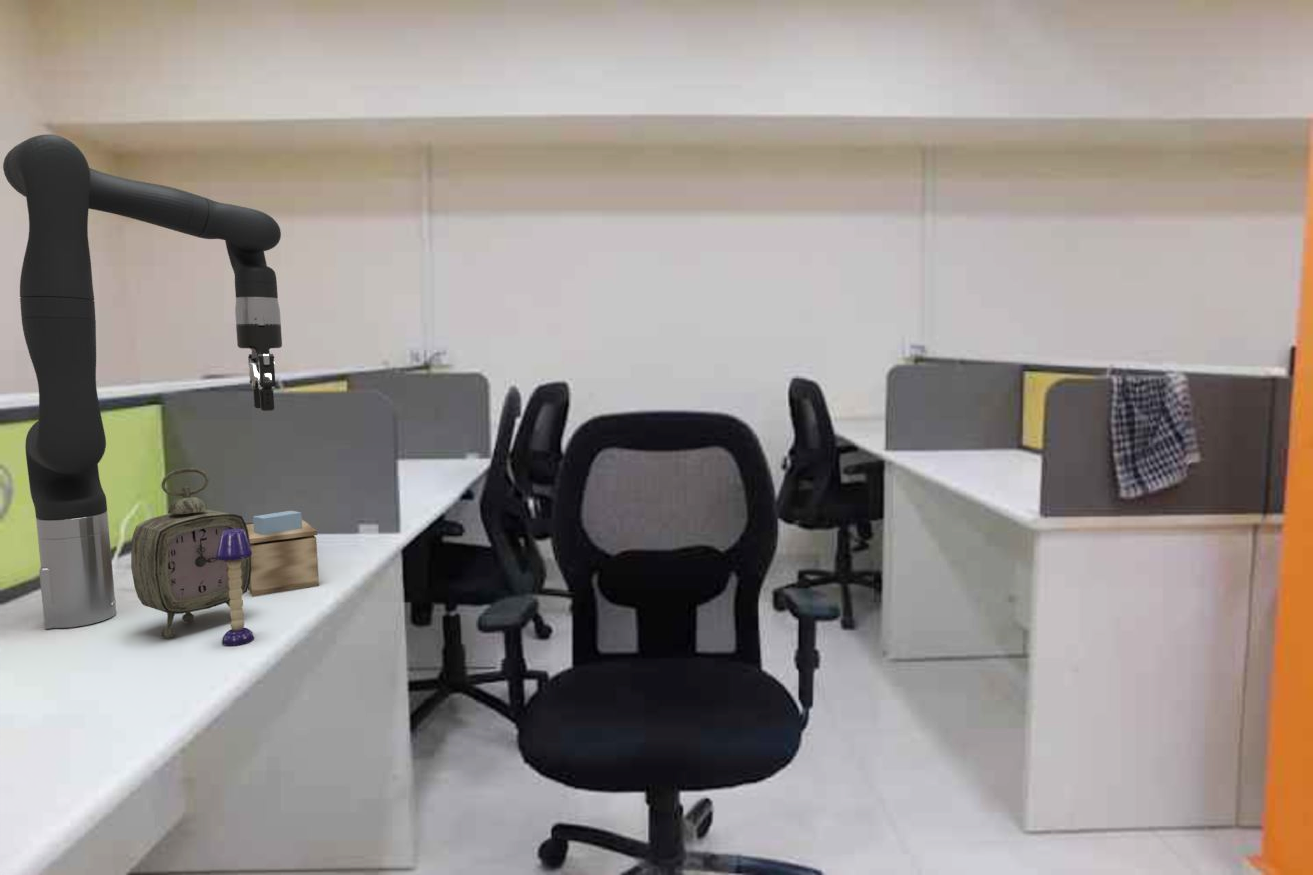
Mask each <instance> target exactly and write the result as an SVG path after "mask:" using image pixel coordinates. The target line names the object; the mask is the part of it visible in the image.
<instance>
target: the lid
mask: <svg viewBox="0 0 1313 875" xmlns="http://www.w3.org/2000/svg"><path fill="white" fill-rule="evenodd" d="M246 526H247V530H248V534H249V540H250V544H251V543H259V542H266V541H274V540H282V539H290V538H298V537H305V536H313V535H314V536H318V531H317V529H316V528H314V527H313V526H312V525H311V524H309V523H308V522H306V521H305V520H304V519H302V529H297V530H291V531H285V532H280V533H274V534H268V535H261V534H257V533H254V525H253V524H247V525H246Z"/></svg>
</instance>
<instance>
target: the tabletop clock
mask: <svg viewBox="0 0 1313 875" xmlns="http://www.w3.org/2000/svg"><path fill="white" fill-rule="evenodd" d="M184 473H197V474H200V475H201V476H203V478H204V480H205V481H204V483H203V484H202V485H201V486H199V487H196V488H194V489H191V487H190V486H189V485H184V486H182V488H181V489H182V490H181V491H172V490H169V489H167V488H166V483H167V481H168V480H169V479H171V477H173V476H175V475H179V474H184ZM209 480H210V479H209V476H208V474H207V472H205V471H204V470H202V469H200V468H197V467H185V468H178V469H173V471H170V472H169V473H167V474H166V475H165V476H164V477H163V479H162V481H161V485H160V486H161V489H162V491H163V492H164V493H165V494H167V495H169V496H174V497H179V498H177V499H175V500H174V501H173V502H172V503H171V505H169V507H168V512H167V513H166V514H163V515H158V516H155V517H152V518H149V519H146V520H144V521H141V522H140V523H138V524H137V525H136V526H135V528H134V531H133V534H132V536H131V537H132V538H131V545H130V546H131V548H130V550H131V551H130V553H131V554H130V558H131V560H130V562H131V563H130V568H131V574H132V579H133V584H134V585H133V586H134V589H135V592H136V593H135V594H136V596H137V598H138V600H139V601H140V604H142V606H144V607H147V608H150V609H151V608H152V609H153V610H157V611H161V612H163V613H166V615H167V619H166V627H164V628H163V629H162V630H161V636H162V638H165V639H169V638H172V637H173V636H174V635H175V629H174V628H173V627H172V625H173V621H174V619H175V618H174V617H175V615H183V616H182V618H181V619H182V621H183V622H184V623H185V624H190V623H192V622H193V620H194V619H195V616H194V614H193V612H198V611H202V610H207V609H211V608H214V607H217V606H220V605H223V604H226V605H227V606H228V608H230V605H229V603H230V600H231V599H230V597H229V590H230V588H229V585H228V581H229V579H230V578H229V577H228V570H229V568H228V565H227V561H228V560H227V561H226V560H225V561H224V560H218V559H217V558H216V555H217V550H218V546H219V541H220V537H221V534H222V532H223V531H225V530H230V529H243V530H244V531H245V533H246V536H247V539H248V542H249V545H250V540H249V534H248V530H247V526H246V521H245V520H244V518H243V516H242V515H239V514H233V513H229V512H223V511H217V510H212V509H207V508H208V507H207V505H206V504H205V502H204V501H203V500H202V499H201V498H200V497H196V496H192V495H195V494H198V493H200V492H201V491H203V490H204V489H205V488H206V487H207V486H208V484H209ZM250 548H251V547H250ZM240 569H241V577H240V578H241V580H242V586H241V589H242V592H243V593H242V596H243V595H244V594H245V593H248V591H249V589H248V587H249V584H250V578H251V556H250V557H248V558H244V559H241V565H240Z"/></svg>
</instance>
